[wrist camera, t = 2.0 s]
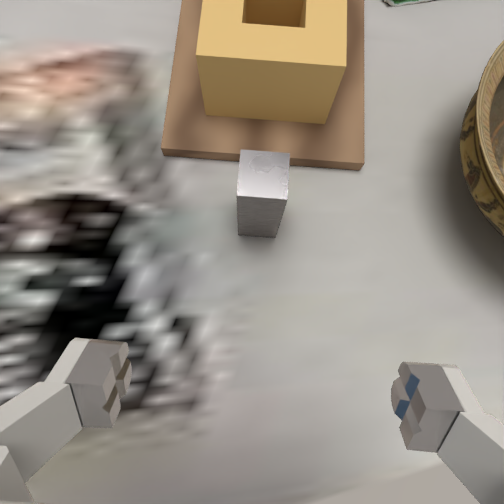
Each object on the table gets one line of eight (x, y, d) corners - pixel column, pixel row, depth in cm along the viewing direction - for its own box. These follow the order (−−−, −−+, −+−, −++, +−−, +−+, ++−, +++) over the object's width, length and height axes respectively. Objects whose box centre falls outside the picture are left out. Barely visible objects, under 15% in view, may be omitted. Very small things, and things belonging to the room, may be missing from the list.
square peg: (238, 234, 36) (236, 195, 26) (241, 200, 36) (240, 149, 27) (275, 237, 36) (287, 199, 26) (277, 202, 36) (290, 153, 27)
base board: (164, 155, 37) (160, 148, 36) (189, -24, 43) (187, -37, 41) (359, 170, 38) (364, 163, 36) (359, -10, 43) (363, -23, 42)
